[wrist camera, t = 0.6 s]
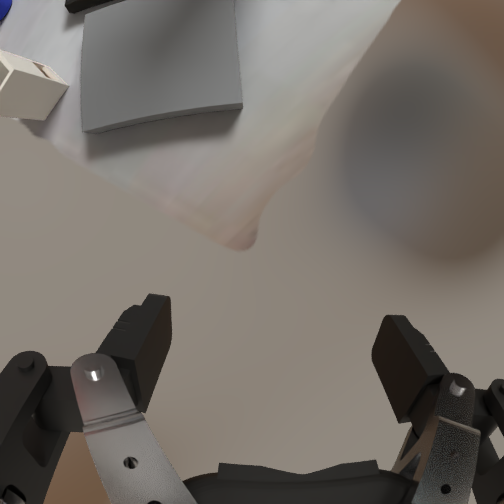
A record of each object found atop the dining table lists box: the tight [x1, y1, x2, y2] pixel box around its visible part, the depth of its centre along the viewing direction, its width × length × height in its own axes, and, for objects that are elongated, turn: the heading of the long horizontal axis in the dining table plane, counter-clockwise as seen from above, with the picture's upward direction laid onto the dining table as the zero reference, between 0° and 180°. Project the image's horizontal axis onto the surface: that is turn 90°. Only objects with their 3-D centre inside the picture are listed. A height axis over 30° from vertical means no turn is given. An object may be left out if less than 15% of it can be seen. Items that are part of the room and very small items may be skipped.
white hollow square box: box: [0, 50, 69, 121], centre depth 25 cm, size 6×6×13 cm
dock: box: [81, 0, 243, 134], centre depth 29 cm, size 18×20×4 cm
